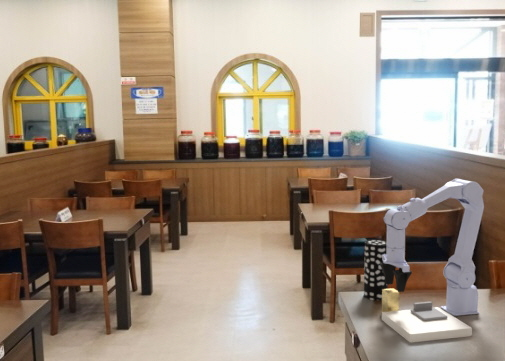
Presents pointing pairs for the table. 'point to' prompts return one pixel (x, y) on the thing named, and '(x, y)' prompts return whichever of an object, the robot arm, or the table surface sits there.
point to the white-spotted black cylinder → (374, 269)
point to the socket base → (425, 326)
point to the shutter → (427, 311)
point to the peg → (390, 300)
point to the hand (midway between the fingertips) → (394, 287)
